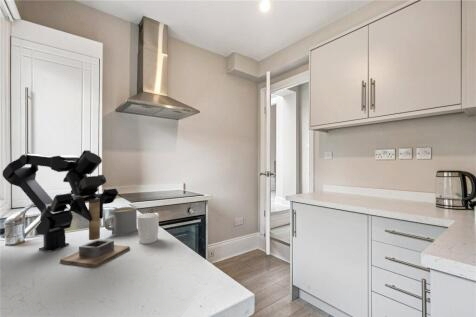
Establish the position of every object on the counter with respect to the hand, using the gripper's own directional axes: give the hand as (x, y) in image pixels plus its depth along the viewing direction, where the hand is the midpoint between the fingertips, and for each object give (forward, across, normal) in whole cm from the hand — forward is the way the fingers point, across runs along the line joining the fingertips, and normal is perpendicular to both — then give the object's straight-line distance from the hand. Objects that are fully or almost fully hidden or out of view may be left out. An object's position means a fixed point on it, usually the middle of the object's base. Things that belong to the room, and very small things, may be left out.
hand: (96, 219), depth 73 cm
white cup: (+10, +19, +8) cm, 23 cm away
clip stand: (+8, +1, +11) cm, 13 cm away
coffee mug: (-4, +19, +23) cm, 30 cm away
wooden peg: (+4, 0, +6) cm, 7 cm away
